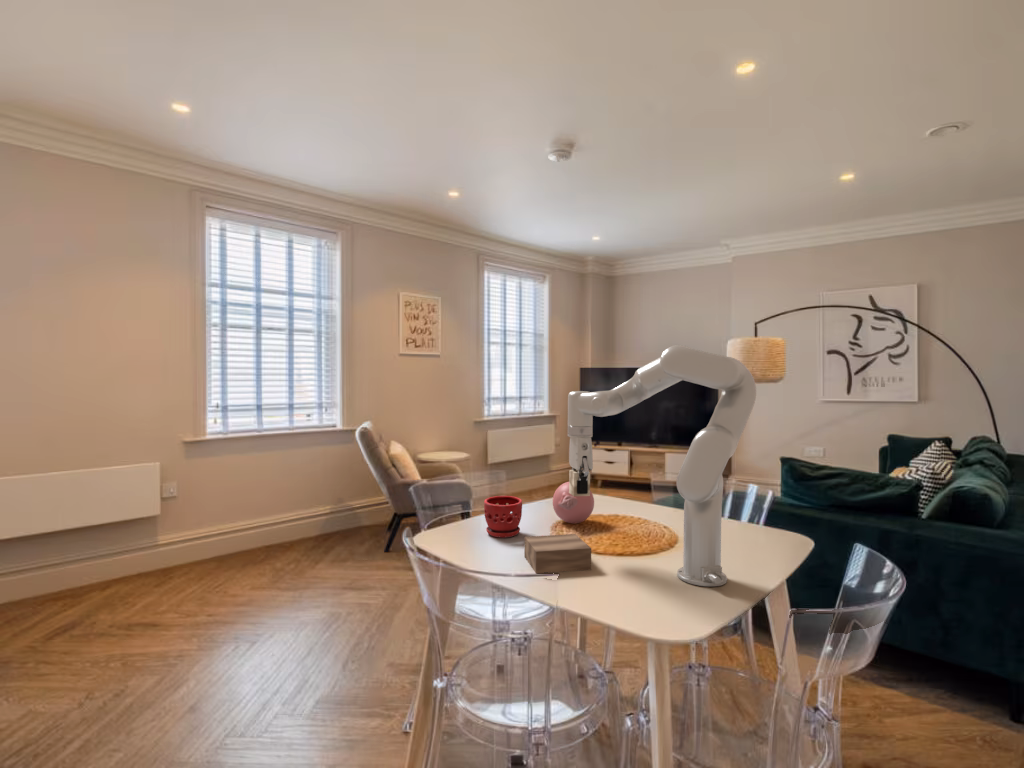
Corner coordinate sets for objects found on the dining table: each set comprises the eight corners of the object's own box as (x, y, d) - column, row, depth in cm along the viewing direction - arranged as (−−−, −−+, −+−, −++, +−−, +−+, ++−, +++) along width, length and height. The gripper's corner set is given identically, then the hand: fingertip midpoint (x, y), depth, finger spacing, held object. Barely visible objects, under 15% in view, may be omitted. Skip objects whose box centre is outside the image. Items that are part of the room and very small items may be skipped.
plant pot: (478, 531, 187) (478, 497, 187) (512, 527, 192) (512, 494, 192) (492, 542, 175) (492, 505, 175) (528, 537, 180) (528, 501, 180)
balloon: (540, 527, 192) (540, 485, 192) (561, 515, 209) (562, 476, 209) (580, 534, 185) (581, 489, 184) (599, 520, 202) (599, 480, 202)
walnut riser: (591, 569, 150) (591, 548, 150) (535, 573, 147) (536, 551, 147) (575, 553, 164) (575, 533, 164) (524, 556, 161) (524, 536, 160)
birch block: (589, 495, 160) (590, 472, 160) (573, 496, 159) (574, 472, 159) (584, 492, 165) (585, 469, 165) (569, 492, 164) (569, 470, 164)
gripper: (601, 434, 154) (600, 497, 154) (583, 429, 171) (582, 485, 171) (576, 434, 153) (575, 498, 153) (560, 429, 170) (560, 486, 170)
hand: (579, 490), depth 162 cm, fingers closed on birch block, 5 cm apart
